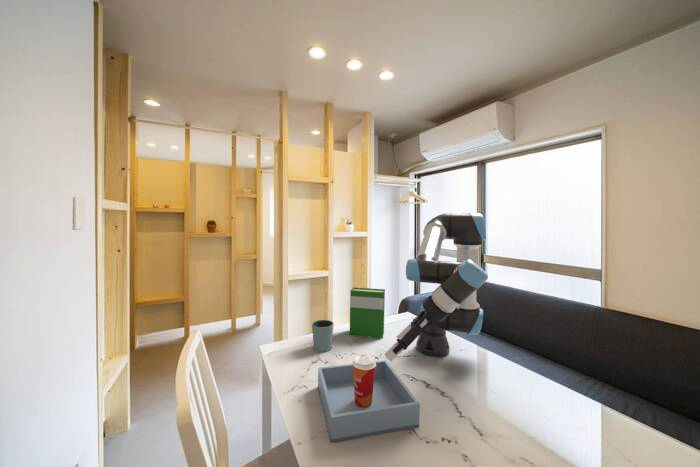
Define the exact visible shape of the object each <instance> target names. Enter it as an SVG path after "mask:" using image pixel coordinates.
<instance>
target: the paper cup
mask: <svg viewBox="0 0 700 467" xmlns="http://www.w3.org/2000/svg"><path fill="white" fill-rule="evenodd" d="M375 361H376V360H375V358H374V357H373V356H371V355H368V354H366V355H365V354H363V355H361V354H359V355H356V356H355V357H354V359H353V361H352V362H351V364H353V367H354V397H355V404H356V405H357V406H359V407H362V408H366V407H369V406H370V405H371V404H372V397H373V385H374V374H375V367H376V362H375Z"/></svg>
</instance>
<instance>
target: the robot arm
mask: <svg viewBox="0 0 700 467" xmlns="http://www.w3.org/2000/svg"><path fill="white" fill-rule="evenodd" d="M423 228H424V229H423V238H422V241H421V243H420V247H419V250H418V251H417V252H418V253H417V254H416V255H417V256H416V257H415V258H409V259H408V260H407V261H406V264H405V277H406V279H407V281H411V282H417V283H427V284H437V285H438V284H439V286H437V287H436V288H435V289H434V290H433V291H432V292H431V295H429V296H428V297H426V298H425V299H424V301H422V303H421V306H420V312H419V313H418V315H417V316H416V317H415V318H413V319H412V321H410V323H409V324H408V325H407V326H406V327H405V328H404V329H403V330H402V331H400V332H399V334H397V335H396V338H397V339H396V342H395V343H394V344H393V345H392V346H391V347H389V349H388V350H387V351H386V352H385V353H384V356H385V358H387V360H389V362H392V361H393V360H394V359H396V358H397V356H399V355H401V353H402V352H403V351H406V350H407V349H408V347H409V346H410V345H411V344H412V343H414V341H415V340H416V339H417V340H416V345H415V346H416V350H417V351H418V352H420V353H421V354H423V355H426V356H429V357H435V358H442V357H446V356H448V355H449V354H450V344H449V342H448V337H447V332H455V333H459V334H465V335H472V336H477V335H479V334H480V333H481V330H482V327H483V326H482V325H483V318H484V310H483V308H481V307H480V303H478V301H477V290H478V289H479V288H481V287H482V286H483V285H484V283H485V282H486V281H487V280H488V278H489V275H488V273H487V272H486V271H485V270H484V269H483V268H482V267H481V266H480V265H479V264H478V261H479V260H478V257H479V256H478V255H479V248H480V247H482V245H483V242H484V241H486V240H487V234H486V223H485V218H484V215H483V214H481V213H477V212H475V213H474V212H467V213H464V212H462V213H460V212H459V213H457V212H455V213H454V212H453V213H450V212H449V213H448V212H447V213H442V214H439V215H436V216H435V217H433V218H432V219H430V220H429V221H428V222H427V223H426V224H425V225H424V227H423ZM444 240H453V241H452V242H453V243H452V244H453V245H454V246H455V247H456V261H445V260H444V261H443V260H439V258H440V253H441V250H442V245H443V241H444Z"/></svg>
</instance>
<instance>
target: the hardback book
mask: <svg viewBox="0 0 700 467" xmlns="http://www.w3.org/2000/svg"><path fill="white" fill-rule="evenodd" d="M385 292H386V289H384V288H370V287H368V288H366V287H352V288H351V289H350V298H349V299H350V300H349V303H350V304H349V336H354V337H363V338H372V339H373V338H374V339H375V338H376V339H384V333H385V305H386V304H385V300H386V299H385V298H386V297H385V296H386V295H385Z"/></svg>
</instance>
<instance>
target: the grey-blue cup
mask: <svg viewBox="0 0 700 467" xmlns="http://www.w3.org/2000/svg"><path fill="white" fill-rule="evenodd" d="M311 330H312V340H313V343H312V344H313V350H314V351H316V352H318V353H327V352H330V351H331V350H332V348H333V332H334V321H332V320H330V319H318V320H314V321H312V323H311Z"/></svg>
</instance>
